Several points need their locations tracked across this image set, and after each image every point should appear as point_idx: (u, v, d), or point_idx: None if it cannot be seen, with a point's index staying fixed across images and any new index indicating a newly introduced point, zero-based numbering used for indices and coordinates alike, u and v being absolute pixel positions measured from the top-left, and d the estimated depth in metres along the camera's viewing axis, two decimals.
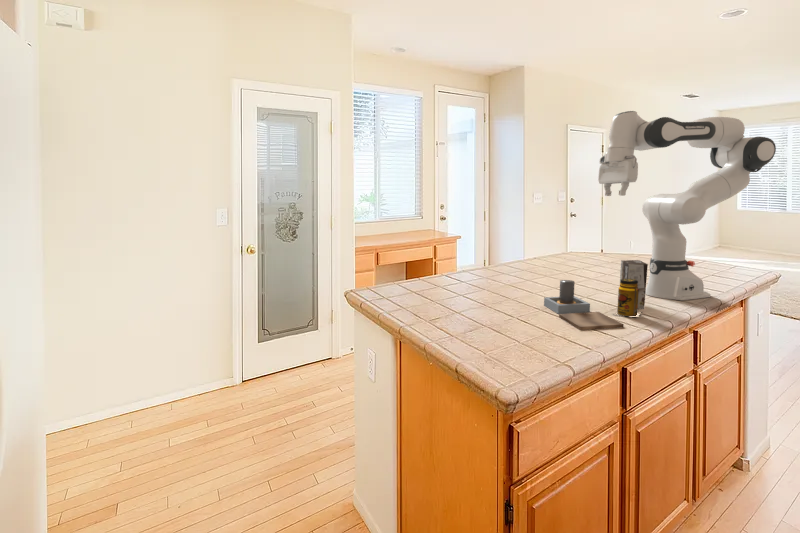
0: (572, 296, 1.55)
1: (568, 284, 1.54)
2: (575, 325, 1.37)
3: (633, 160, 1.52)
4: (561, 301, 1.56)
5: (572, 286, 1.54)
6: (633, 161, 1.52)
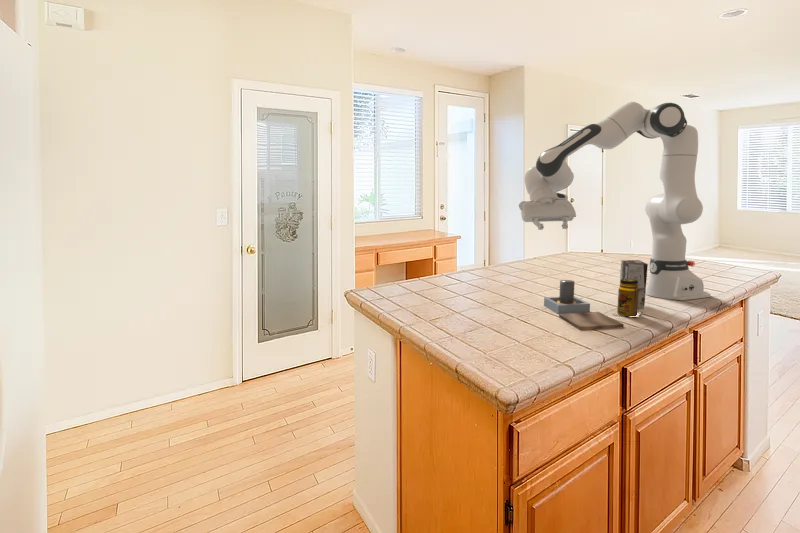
0: (572, 296, 1.55)
1: (568, 284, 1.54)
2: (575, 325, 1.37)
3: None
4: (561, 301, 1.56)
5: (572, 286, 1.54)
6: None
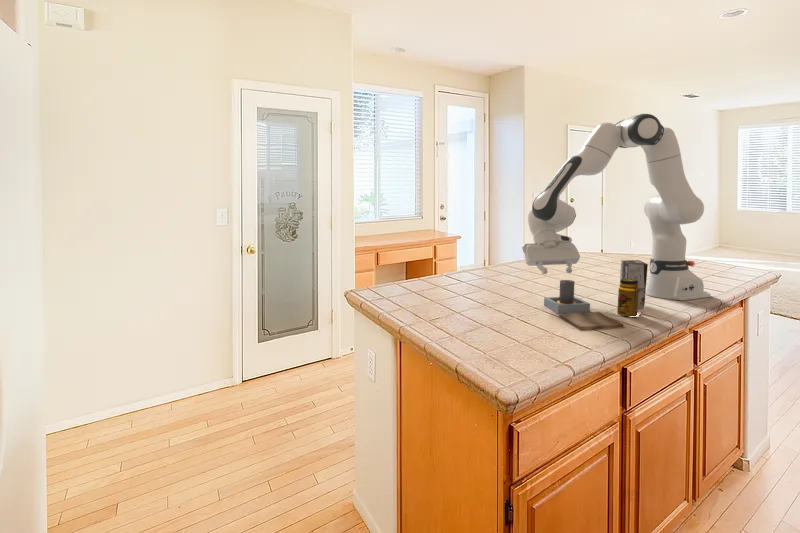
0: (572, 296, 1.55)
1: (568, 284, 1.54)
2: (575, 325, 1.37)
3: None
4: (561, 301, 1.56)
5: (572, 286, 1.54)
6: None
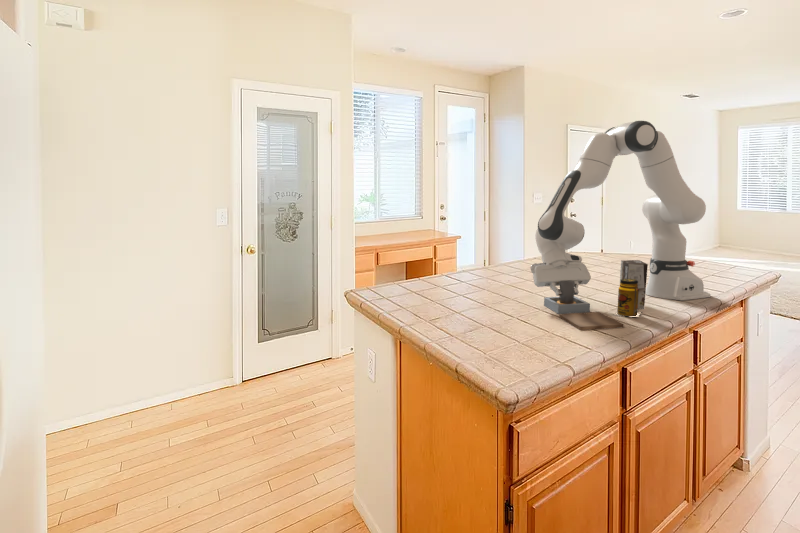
0: (572, 296, 1.55)
1: (568, 284, 1.54)
2: (575, 325, 1.37)
3: None
4: (561, 301, 1.56)
5: (572, 286, 1.54)
6: None
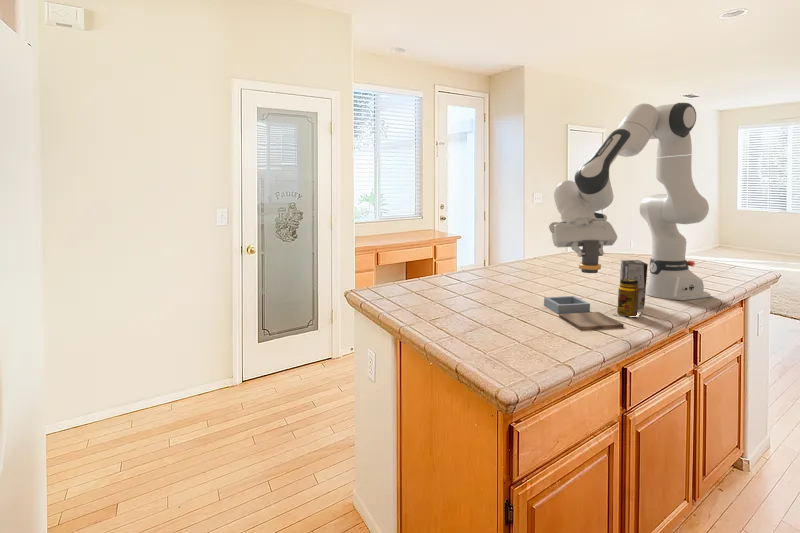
0: (597, 257, 1.37)
1: (592, 243, 1.36)
2: (575, 325, 1.37)
3: None
4: (584, 263, 1.39)
5: (597, 245, 1.36)
6: None
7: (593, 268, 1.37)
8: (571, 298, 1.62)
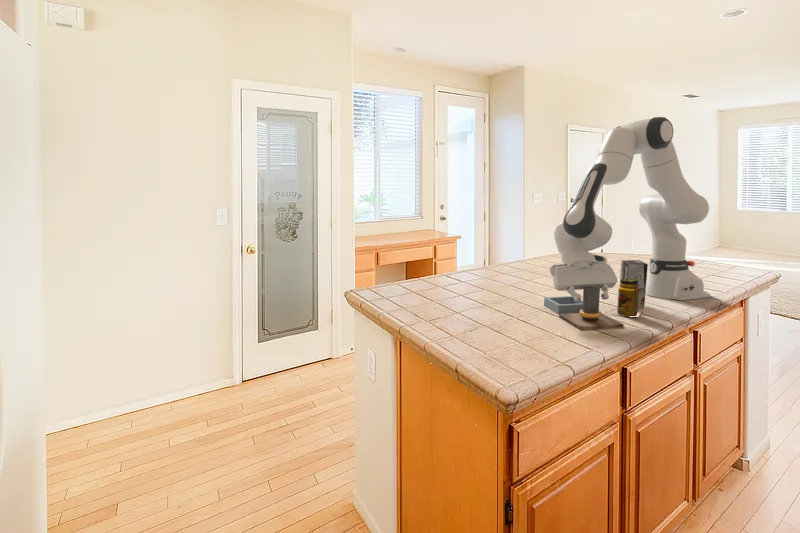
0: (597, 305, 1.39)
1: (593, 292, 1.38)
2: (575, 325, 1.37)
3: None
4: (585, 310, 1.40)
5: (597, 294, 1.38)
6: None
7: (594, 316, 1.38)
8: (571, 298, 1.62)
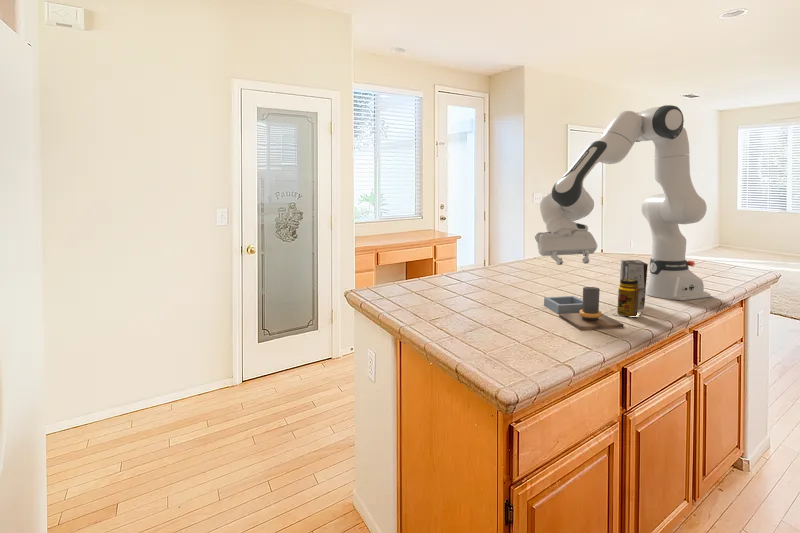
0: (597, 305, 1.39)
1: (593, 292, 1.38)
2: (575, 325, 1.37)
3: None
4: (585, 310, 1.40)
5: (597, 293, 1.38)
6: None
7: (594, 316, 1.38)
8: (571, 298, 1.62)
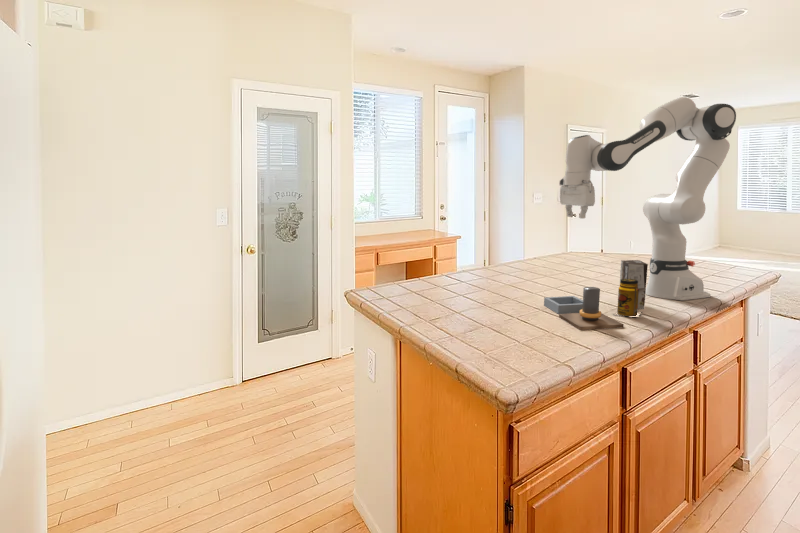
0: (597, 305, 1.39)
1: (593, 292, 1.38)
2: (575, 325, 1.37)
3: (589, 185, 1.56)
4: (585, 310, 1.40)
5: (597, 294, 1.38)
6: (589, 186, 1.56)
7: (593, 316, 1.38)
8: (571, 298, 1.62)
